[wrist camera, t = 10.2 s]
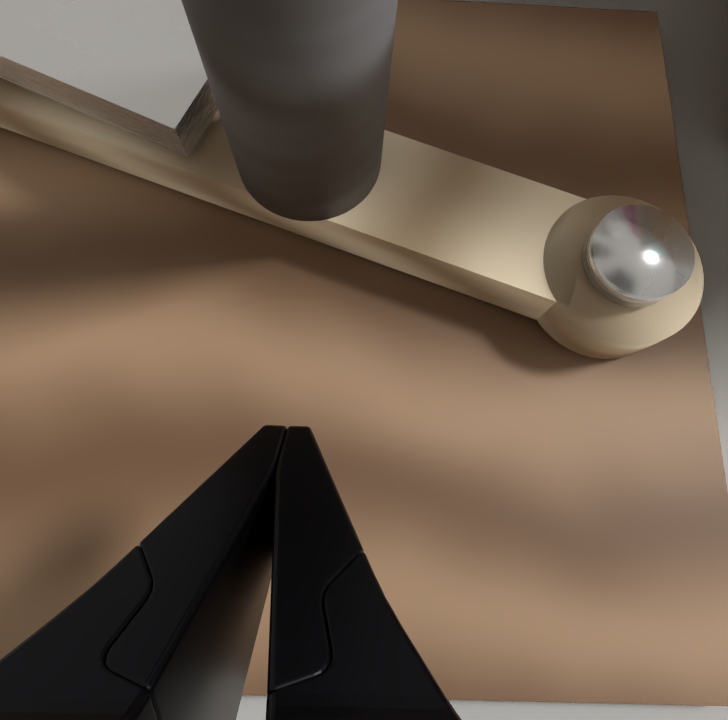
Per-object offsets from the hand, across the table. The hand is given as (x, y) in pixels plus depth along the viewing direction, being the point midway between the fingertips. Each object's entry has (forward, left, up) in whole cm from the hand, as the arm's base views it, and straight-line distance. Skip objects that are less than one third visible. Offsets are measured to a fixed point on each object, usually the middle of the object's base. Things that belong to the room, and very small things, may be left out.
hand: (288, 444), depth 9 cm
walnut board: (+4, +4, -7) cm, 9 cm away
